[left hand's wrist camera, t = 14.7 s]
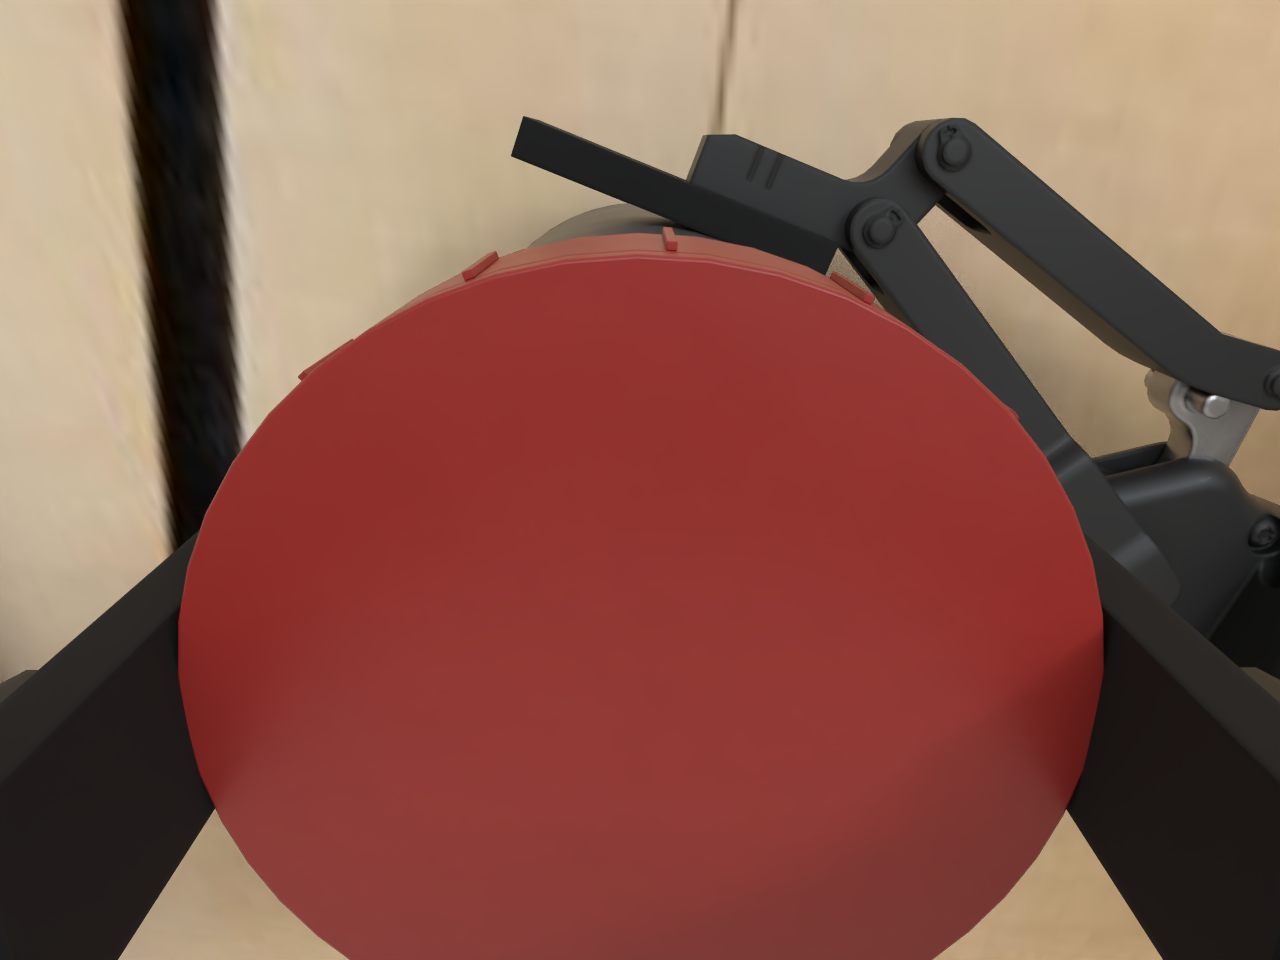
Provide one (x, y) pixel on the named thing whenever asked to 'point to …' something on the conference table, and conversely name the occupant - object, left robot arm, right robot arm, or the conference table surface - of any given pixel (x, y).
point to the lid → (640, 623)
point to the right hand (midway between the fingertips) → (453, 367)
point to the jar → (614, 225)
